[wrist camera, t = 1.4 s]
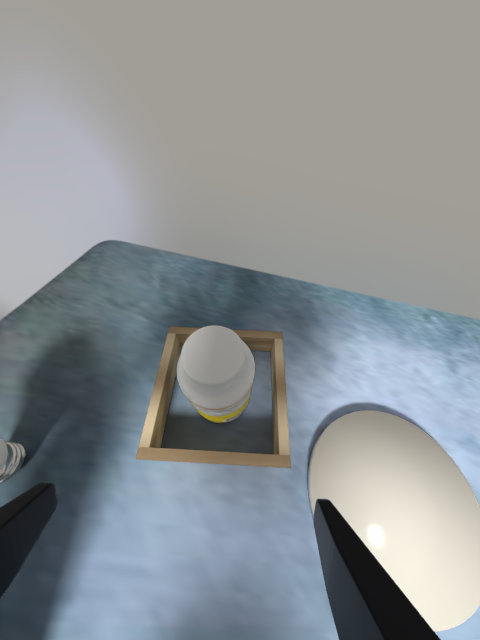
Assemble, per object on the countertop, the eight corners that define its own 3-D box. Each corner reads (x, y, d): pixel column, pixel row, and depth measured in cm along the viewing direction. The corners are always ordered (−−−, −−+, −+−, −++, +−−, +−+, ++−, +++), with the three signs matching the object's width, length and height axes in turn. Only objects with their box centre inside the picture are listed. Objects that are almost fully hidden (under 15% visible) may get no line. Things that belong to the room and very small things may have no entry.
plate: (488, 682, 13) (501, 693, 13) (285, 547, 16) (287, 550, 16) (474, 455, 20) (482, 455, 19) (329, 388, 23) (332, 386, 22)
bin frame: (283, 467, 19) (290, 467, 16) (148, 459, 19) (135, 459, 17) (277, 345, 25) (282, 332, 23) (176, 340, 25) (169, 326, 23)
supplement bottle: (206, 361, 24) (190, 305, 15) (256, 376, 23) (268, 326, 15) (184, 414, 21) (149, 380, 13) (240, 433, 20) (243, 412, 12)
